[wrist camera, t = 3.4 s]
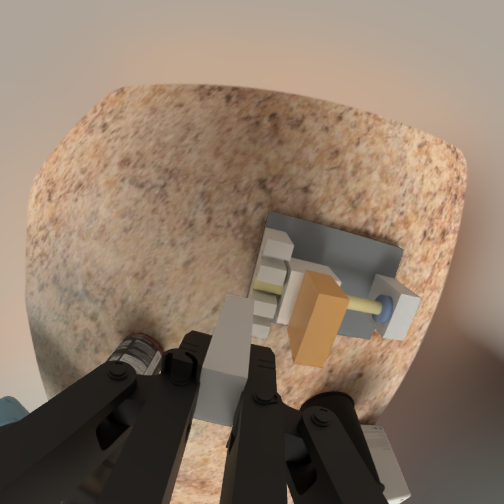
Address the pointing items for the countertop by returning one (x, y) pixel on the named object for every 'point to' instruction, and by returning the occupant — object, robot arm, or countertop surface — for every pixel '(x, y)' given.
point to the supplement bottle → (140, 354)
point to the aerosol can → (347, 424)
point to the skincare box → (386, 464)
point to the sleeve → (311, 310)
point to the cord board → (344, 267)
